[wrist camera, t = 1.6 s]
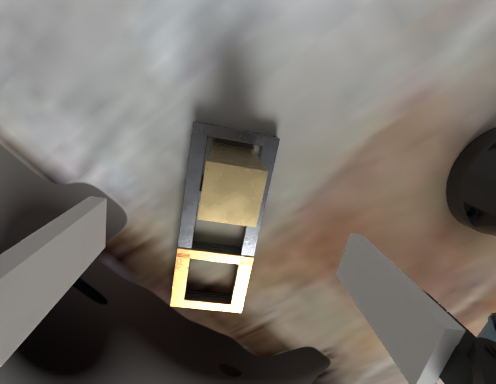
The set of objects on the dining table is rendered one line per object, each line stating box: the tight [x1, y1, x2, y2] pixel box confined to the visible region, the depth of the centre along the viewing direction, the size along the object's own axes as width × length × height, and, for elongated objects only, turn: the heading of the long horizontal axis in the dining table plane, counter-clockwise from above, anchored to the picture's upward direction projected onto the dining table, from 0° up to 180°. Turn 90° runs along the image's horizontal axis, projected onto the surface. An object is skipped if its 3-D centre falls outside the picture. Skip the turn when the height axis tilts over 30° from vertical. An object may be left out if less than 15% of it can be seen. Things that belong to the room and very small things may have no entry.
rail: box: [170, 122, 280, 313], centre depth 34 cm, size 10×25×2 cm, turn 169°
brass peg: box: [198, 142, 268, 227], centre depth 27 cm, size 5×5×12 cm
